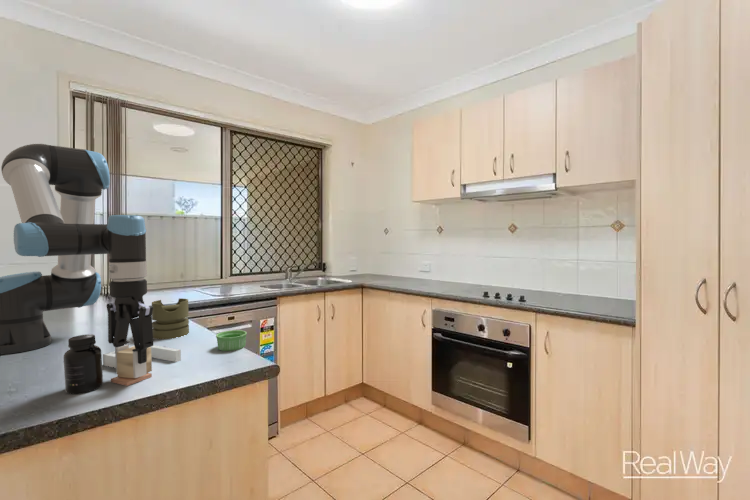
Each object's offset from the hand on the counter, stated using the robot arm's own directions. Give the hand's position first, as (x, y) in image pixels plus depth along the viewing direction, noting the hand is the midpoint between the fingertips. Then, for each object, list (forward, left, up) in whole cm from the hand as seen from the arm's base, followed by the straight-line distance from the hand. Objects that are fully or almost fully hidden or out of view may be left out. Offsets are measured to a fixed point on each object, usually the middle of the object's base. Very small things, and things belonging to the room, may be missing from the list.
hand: (131, 374), depth 90 cm
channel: (-9, +9, -1) cm, 13 cm away
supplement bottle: (-5, -8, -2) cm, 9 cm away
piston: (-28, +32, -2) cm, 43 cm away
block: (0, +1, 0) cm, 1 cm away
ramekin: (+3, +29, -2) cm, 30 cm away
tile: (0, 0, -1) cm, 1 cm away
